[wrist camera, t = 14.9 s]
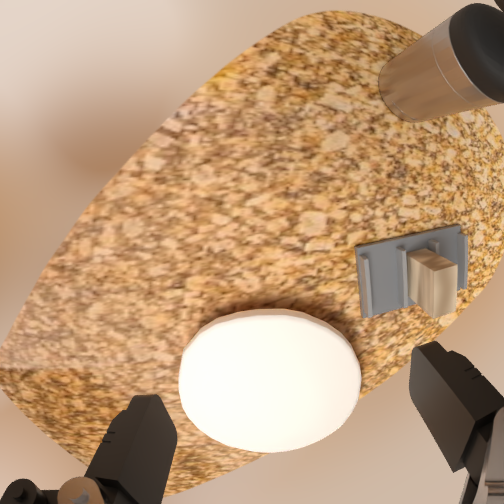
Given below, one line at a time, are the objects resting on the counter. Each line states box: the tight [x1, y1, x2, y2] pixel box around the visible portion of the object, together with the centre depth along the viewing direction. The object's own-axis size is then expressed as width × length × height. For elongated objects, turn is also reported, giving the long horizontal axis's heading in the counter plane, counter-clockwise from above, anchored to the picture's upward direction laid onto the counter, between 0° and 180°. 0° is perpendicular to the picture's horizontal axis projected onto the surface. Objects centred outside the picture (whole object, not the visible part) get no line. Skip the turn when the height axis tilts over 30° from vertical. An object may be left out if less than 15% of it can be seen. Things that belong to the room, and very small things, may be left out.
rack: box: [354, 224, 468, 318], centre depth 37 cm, size 17×10×3 cm, turn 102°
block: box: [406, 248, 458, 319], centre depth 34 cm, size 4×6×8 cm, turn 12°
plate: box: [179, 309, 361, 453], centre depth 41 cm, size 28×6×27 cm
